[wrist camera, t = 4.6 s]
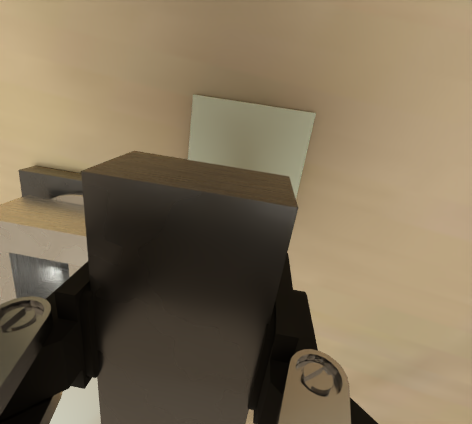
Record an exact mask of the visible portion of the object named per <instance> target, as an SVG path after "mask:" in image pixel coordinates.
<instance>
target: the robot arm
mask: <svg viewBox="0 0 472 424" xmlns="http://www.w3.org/2000/svg"><path fill="white" fill-rule="evenodd" d="M98 375H99V362H98V348H97V335H96V322H95V308H94V295H93V291H91V289H90V277H89V264H88V261H87V262H86V263H85V264H84V265H83V266H82V267H81V268H80V269H79V270H77V271H76V272H75V273H74V274H73V275H72V276H71V277H70V278H68V279H67V280H66V281H65V282H64V283H63V284H62V285H61V286H60V287H58V288H57V289H56V290H55V291H54V292H53V293H52V294H51V295H49V296H48V297H47V298H46V299H43V298H41V297H34V296H30V297H21V298H17V299H13V300H10V301H7V302H5V303H2V304H1V305H0V424H49V423H50V421H51V418H52V416H53V414H54V412H55V410H56V407H57V405H58V403H59V401H60V399H61V395H62V392H63V391H64V390H66V389H68V388H69V387H70V386H74V387H79V388H85V387H86V386H87V384H88V383H89V381H90V380H91V378H92V377H94V378H96V377H97V376H98ZM248 409H251V410H254V418H253V423H254V424H378V423H377V422H376V421H375V420H374V419H373V418H372V417H370V416H369V415H368V414H367V413H366V412H365V411H364V410H363V409H362V408H361V407H360V406H359V405H358V404H356V403H355V402H354V401H353V400H352V399H351V398H350V390H349V382H348V377H347V375H346V374H345V372H344V370H343V368H342V367H341V366H340V365H339V364H338V363H337V361H335V360H334V359H333V358H331V357H330V356H329V355H327V354H325V353H323V352H321V351H318V349H317V344H316V339H315V334H314V329H313V324H312V319H311V314H310V309H309V304H308V299H307V295H306V293H305V292H303V291H297V290H293V287H292V280H291V272H290V264H289V257H288V253H287V255H286V259H285V263H284V267H283V271H282V275H281V279H280V284H279V288H278V292H277V296H276V300H275V304H274V308H273V312H272V316H271V320H270V324H267V325H266V329H265V333H264V338H263V342H262V346H261V350H260V354H259V358H258V363H257V367H256V371H255V375H254V379H253V383H252V388H251V392H250V396H249V400H248Z"/></svg>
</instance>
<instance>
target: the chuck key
mask: <svg viewBox="0 0 472 424" xmlns="http://www.w3.org/2000/svg"><path fill="white" fill-rule="evenodd" d="M81 176H82V189H83V201H84V214H85V226H86V239H87V252H88V264H89V277H90V289H91V291H93V295H94V308H95V322H96V335H97V348H98V362H99V375H98V376H97V377H98V390H99V402H100V414H101V424H245V423H246V419H247V414H248V410H249V409H248V400H249V396H250V392H251V388H252V383H253V379H254V375H255V371H256V367H257V363H258V358H259V354H260V350H261V346H262V342H263V338H264V333H265V329H266V325H267V324H270V320H271V316H272V312H273V308H274V304H275V300H276V296H277V292H278V288H279V284H280V279H281V275H282V271H283V267H284V263H285V259H286V255H287V251H288V247H289V243H290V239H291V234H292V230H293V226H294V222H295V218H296V214H297V210H298V206H297V202H296V199H295V195H294V191H293V188H292V184H291V181H290V177H289V176H285V175H278V174H272V173H266V172H260V171H254V170H248V169H242V168H236V167H230V166H223V165H217V164H211V163H205V162H199V161H193V160H187V159H181V158H174V157H168V156H162V155H156V154H150V153H144V152H138V151H132V152H130V153H127V154H125V155H122V156H119V157H117V158H114V159H112V160H109V161H106V162H104V163H101V164H99V165H96V166H93V167H91V168H88V169H85V170H83V171H81Z"/></svg>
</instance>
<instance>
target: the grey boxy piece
mask: <svg viewBox="0 0 472 424" xmlns="http://www.w3.org/2000/svg"><path fill="white" fill-rule="evenodd" d="M87 261H88V252H87V239H86V226H85V214H84V201H83V193H67V194H62V195H59V196H57V197H54V198H52V199H46V198H41V197H35V196H29V195H26V196H23V197H21V198H18V199H15V200H12V201H9V202H6V203H4V204H1V205H0V305H1V304H2V303H5V302H7V301H10V300H13V299H17V298H21V297H30V296H34V297H41V298H43V299H46V298H47V297H48V296H49V295H51V294H52V293H53V292H54V291H55V290H56V289H57V288H58V287H60V286H61V285H62V284H63V283H64V282H65V281H66V280H67V279H68V278H70V277H71V276H72V275H73V274H74V273H75V272H76V271H77V270H79V269H80V268H81V267H82V266H83V265H84V264H85V263H86V262H87Z"/></svg>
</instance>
